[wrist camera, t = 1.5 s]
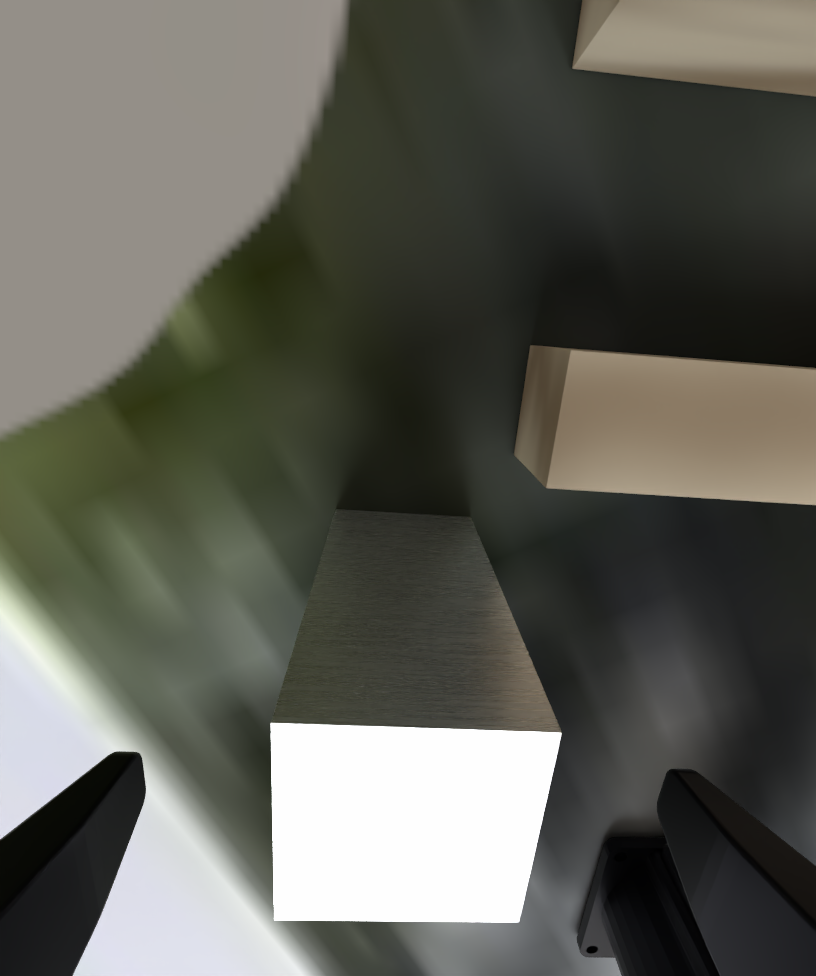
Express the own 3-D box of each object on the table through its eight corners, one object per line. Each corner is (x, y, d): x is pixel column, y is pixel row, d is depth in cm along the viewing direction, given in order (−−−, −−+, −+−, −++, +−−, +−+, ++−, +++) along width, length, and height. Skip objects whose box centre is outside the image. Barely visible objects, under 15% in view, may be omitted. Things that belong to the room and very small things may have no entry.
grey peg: (455, 631, 16) (519, 922, 8) (331, 625, 15) (274, 920, 8) (470, 517, 14) (561, 733, 7) (335, 509, 14) (270, 723, 6)
